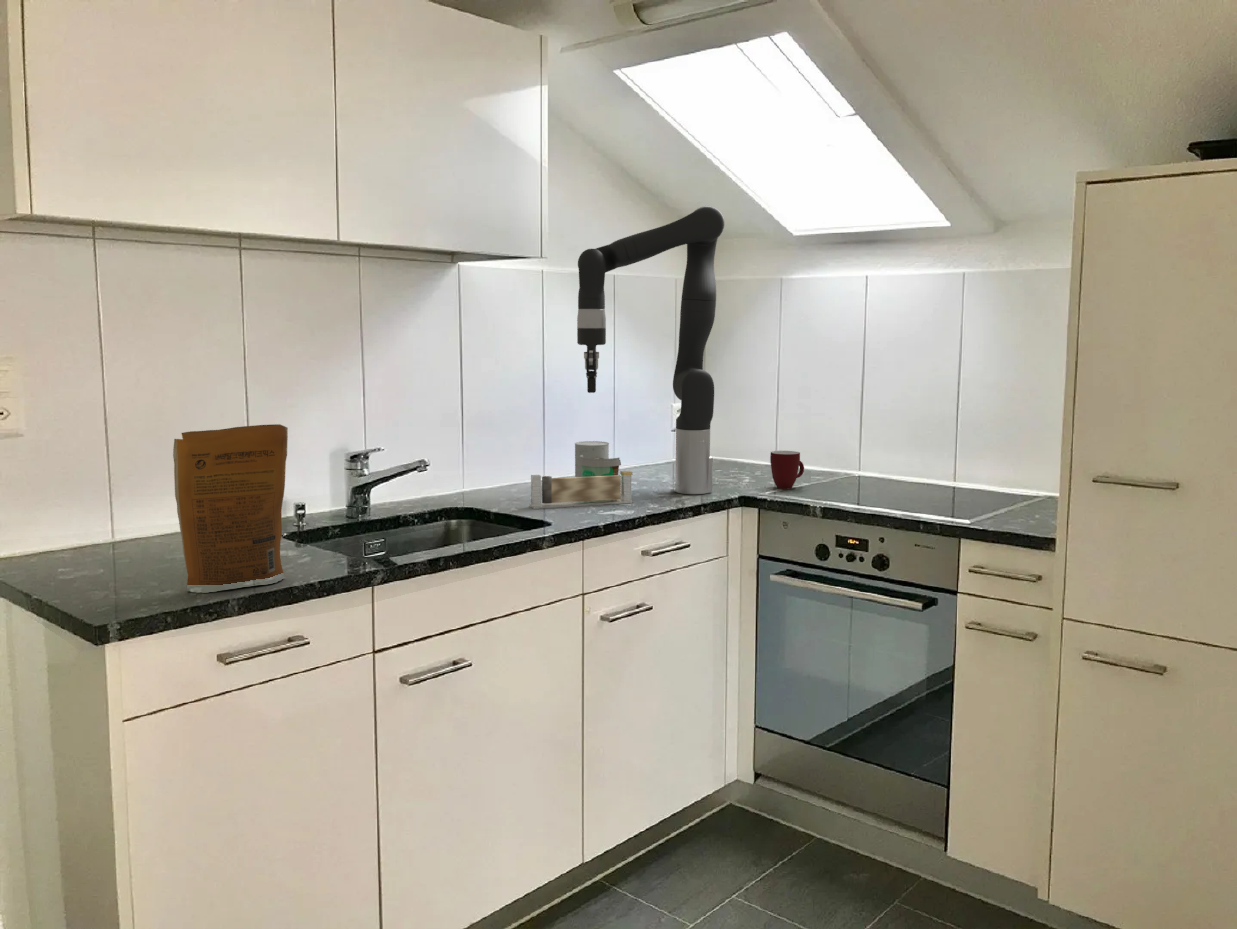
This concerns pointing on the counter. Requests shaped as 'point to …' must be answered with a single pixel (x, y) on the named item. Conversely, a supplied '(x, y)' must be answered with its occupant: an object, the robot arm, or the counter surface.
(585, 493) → the gate
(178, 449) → the pancake mix bag
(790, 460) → the mug
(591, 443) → the grey cylindrical canister
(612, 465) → the food container
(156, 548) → the counter surface
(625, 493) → the gate frame
